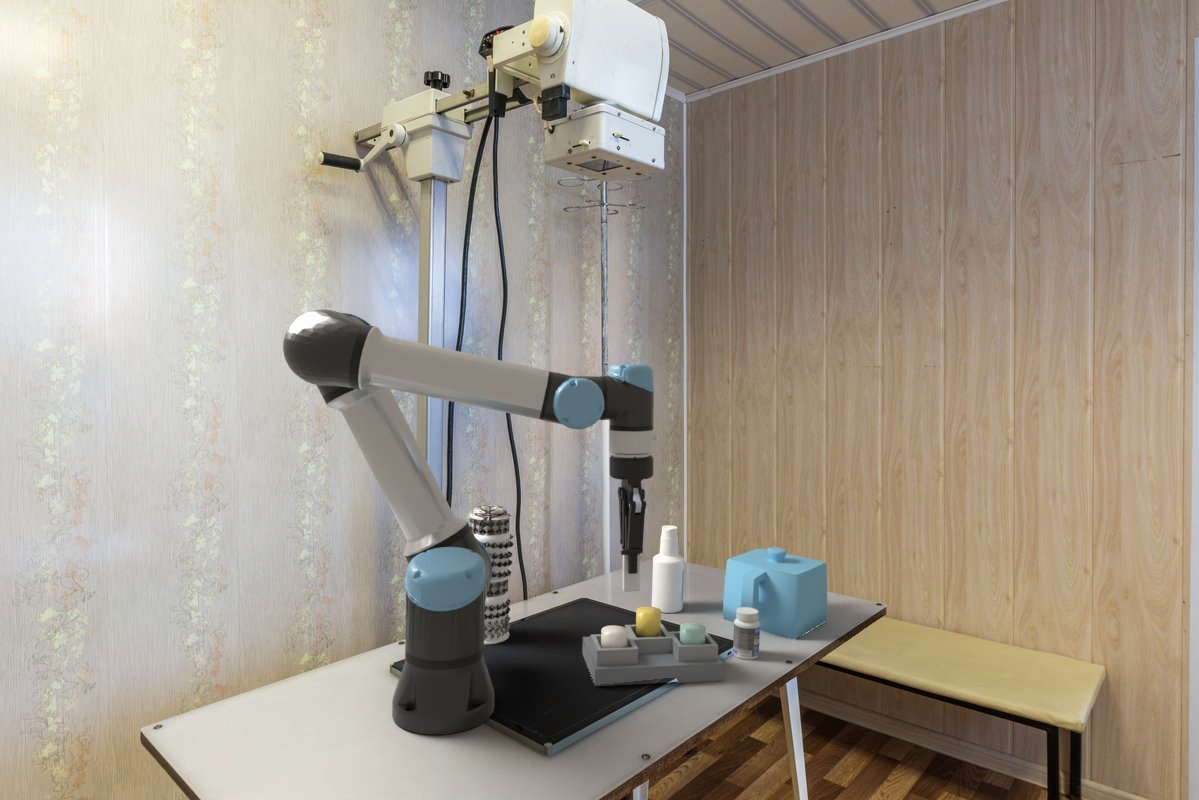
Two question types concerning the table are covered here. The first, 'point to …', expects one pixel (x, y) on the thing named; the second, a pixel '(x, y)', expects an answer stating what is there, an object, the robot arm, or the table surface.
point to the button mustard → (648, 621)
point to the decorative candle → (495, 568)
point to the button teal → (692, 634)
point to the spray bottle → (668, 573)
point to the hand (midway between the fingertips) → (631, 589)
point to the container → (777, 590)
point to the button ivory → (613, 637)
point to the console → (652, 659)
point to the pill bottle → (746, 633)
